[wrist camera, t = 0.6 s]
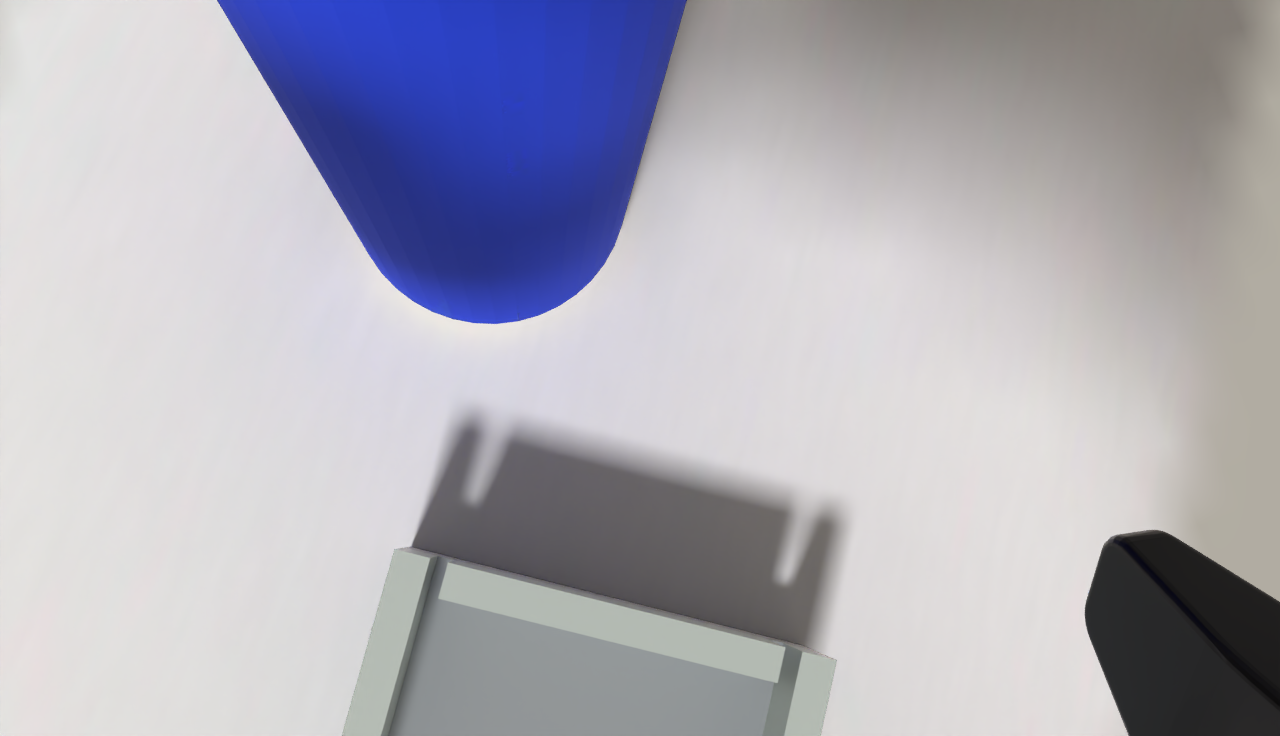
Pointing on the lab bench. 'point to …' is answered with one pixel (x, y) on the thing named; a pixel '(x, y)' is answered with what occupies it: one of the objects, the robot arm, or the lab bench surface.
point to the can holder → (567, 663)
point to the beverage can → (471, 133)
